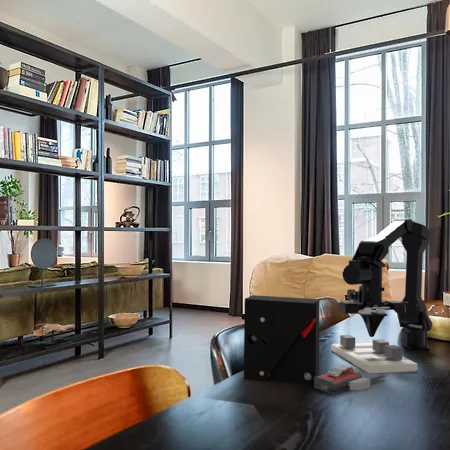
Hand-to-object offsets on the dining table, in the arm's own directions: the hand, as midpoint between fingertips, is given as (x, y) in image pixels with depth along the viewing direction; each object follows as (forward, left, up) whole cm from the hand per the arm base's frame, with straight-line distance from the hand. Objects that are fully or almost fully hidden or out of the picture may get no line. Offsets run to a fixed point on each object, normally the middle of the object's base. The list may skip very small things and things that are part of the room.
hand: (371, 336), depth 133 cm
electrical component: (+31, +12, -7) cm, 34 cm away
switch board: (0, 0, -7) cm, 7 cm away
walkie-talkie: (+16, +19, -7) cm, 26 cm away
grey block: (-3, 0, -4) cm, 5 cm away
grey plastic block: (+4, -7, -4) cm, 9 cm away
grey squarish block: (-3, +7, -4) cm, 9 cm away
